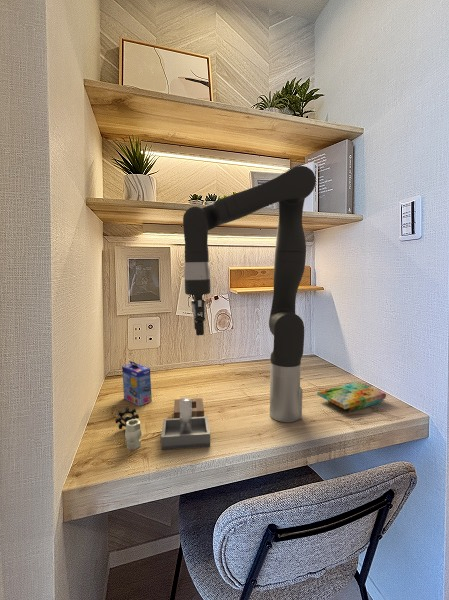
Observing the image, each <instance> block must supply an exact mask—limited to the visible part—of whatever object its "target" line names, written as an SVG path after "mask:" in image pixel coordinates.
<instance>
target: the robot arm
mask: <svg viewBox="0 0 449 600" xmlns="http://www.w3.org/2000/svg"><path fill="white" fill-rule="evenodd" d="M316 182H317V178H316V174H315V172H314V171H313V170H312V169H311V168H310V167H308V166H305V165H297V166H294V167H291V168H290V169H289V170H287V171H285V172H284V173H281V174H280V175H278V176H276V177H274V178H272V179H271V180H268V181H265V182H264V183H261V184H258V185H257V186H253V187H250V188H248V189H244V190H242V191H239V192H236V193H233V194H230V195H227V196H224V197H222V198H220V199H217V200H215V201H214V202H213V203H211V204H209V205H206V206H204V207H199V206H191V207H189V208H187V210H185V212H184V213H183V216H182V225H183V236H184V269H183V271H184V293H185V295H187V296H192V299H191V300H190V301H191V302H190V303H191V304H190V305H191V311H192V316H193V323H194V325H193V326H194V330H195V333H196V334H195V335H196V336H204V335H205V321H206V316H205V315H206V300H205V299H203V298H204V297H203V296H204V295H209V294H211V269H210V268H211V267H210V257H209V255H210V254H209V253H210V252H209V251H210V250H209V245H208V241H209V239H208V236H209V233H208V232H209V231H211V230H213V229H215V228H217V227H219V226H221V225H225V224H228V223H231V222H234V221H237V220H239V219H242V218H244V217H247V216H250V215H251V214H253V213H255V212H257V211H259V210H262V209H264V208H266V207H268V206H270V205H273V204H276V203H278V224H277V228H276V229H277V231H276V238H275V239H276V240H275V246H274V247H275V249H274V250H275V251H274V262H273V265H274V266H273V270H274V271H273V294H272V295H273V296H272V302H271V303H272V304H271V307H270V308H271V309H270V313H269V318H268V319H269V320H268V328H269V331H270V333H271V335H273V351H272V352H271V353H270V367H269V369H270V370H269V371H270V372H269V373H270V374H269V376H270V379H269V380H270V381H269V383H270V384H269V389H270V390H269V416H270V417H271V419H273V420H275V421H276V422H277V421H278V422H282V423H294V422H296V421H298V420H303V391H304V390H303V388H302V387H301V369H302V368H301V367H302V366H301V364H302V358H303V355H304V347H305V324H304V321H303V319H302V318H301V317H300V316H299V315H298V314H296V303H297V302H296V300H297V299H296V298H297V293H298V289H299V286H300V285H301V281H302V278H303V276H304V273H305V267H306V257H307V243H306V236H305V235H306V234H305V231H304V227H303V213H304V212H303V211H304V204H305V200H306V199H307V198H308V197H309V196H310V195H311V193H312V192H313V191H314V190H315V187H316V184H317V183H316Z"/></svg>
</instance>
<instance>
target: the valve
mask: <svg viewBox="0 0 449 600" xmlns="http://www.w3.org/2000/svg"><path fill="white" fill-rule="evenodd" d="M126 414H129V415H126ZM130 414H131V416H130ZM117 416H119V417H117V418H115V420H114V421H115V424H118V429H119V430H122V429H123V427H124V428H125V429H124V430H125V432H124V433H125V434H124V439H125V440H126V447H127V450H137V449H139V448H140V447H141V445H142V444H141V443H142V442H141V441H142V440H141V438H142V430H141V421H140V420H139V419H140V416H139V414H138V413H137V410H136V408H134V407H133V408H131V410H130V409H129V407H128V406H126V407H125V408H124V411H123V412H122V410H121V411H117ZM123 416H124V417H123Z"/></svg>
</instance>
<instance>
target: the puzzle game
mask: <svg viewBox="0 0 449 600" xmlns="http://www.w3.org/2000/svg"><path fill="white" fill-rule="evenodd" d="M316 395H317V396H319V397H320V398H322V399H324V400H326V401H327V402H329V403H332V404H334V405H336V406H338V407H339V408H342V409H343V410H345V411H346V412H347V411H348V412H349V413H350V412H354V411H356V410H359V409H364V408H367V407H370V406H374V405H377V404H380V403H381V402H383V401H384V400H385V399H386V398H387V394H386V393H385V392H383V391H380V390H378V389H375V388H373V387H370V386H367V385H364V384H361V383H360V382H352V383H351V382H350V383H347V384H344V385H340V386H335V387H332V388H328V389H323V390H320V391H317V394H316Z"/></svg>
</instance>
